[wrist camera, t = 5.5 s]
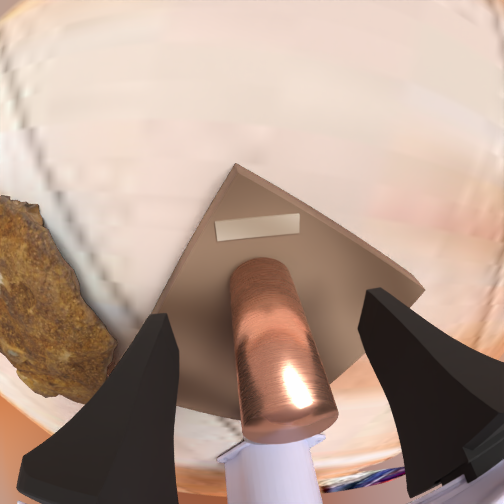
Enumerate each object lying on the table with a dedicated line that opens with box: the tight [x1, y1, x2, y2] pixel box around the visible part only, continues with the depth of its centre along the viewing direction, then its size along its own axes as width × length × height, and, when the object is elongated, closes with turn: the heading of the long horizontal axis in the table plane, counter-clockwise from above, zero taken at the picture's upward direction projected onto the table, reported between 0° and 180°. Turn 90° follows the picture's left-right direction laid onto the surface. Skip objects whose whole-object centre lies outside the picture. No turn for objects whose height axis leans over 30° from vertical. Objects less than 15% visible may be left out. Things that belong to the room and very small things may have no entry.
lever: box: [230, 257, 338, 445], centre depth 13 cm, size 14×4×6 cm, turn 3°
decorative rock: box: [0, 195, 117, 404], centre depth 13 cm, size 11×4×15 cm
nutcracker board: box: [152, 163, 425, 420], centre depth 16 cm, size 15×12×2 cm
